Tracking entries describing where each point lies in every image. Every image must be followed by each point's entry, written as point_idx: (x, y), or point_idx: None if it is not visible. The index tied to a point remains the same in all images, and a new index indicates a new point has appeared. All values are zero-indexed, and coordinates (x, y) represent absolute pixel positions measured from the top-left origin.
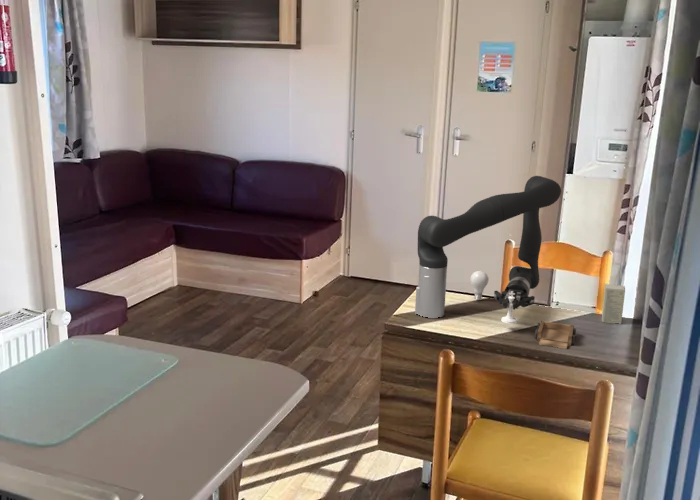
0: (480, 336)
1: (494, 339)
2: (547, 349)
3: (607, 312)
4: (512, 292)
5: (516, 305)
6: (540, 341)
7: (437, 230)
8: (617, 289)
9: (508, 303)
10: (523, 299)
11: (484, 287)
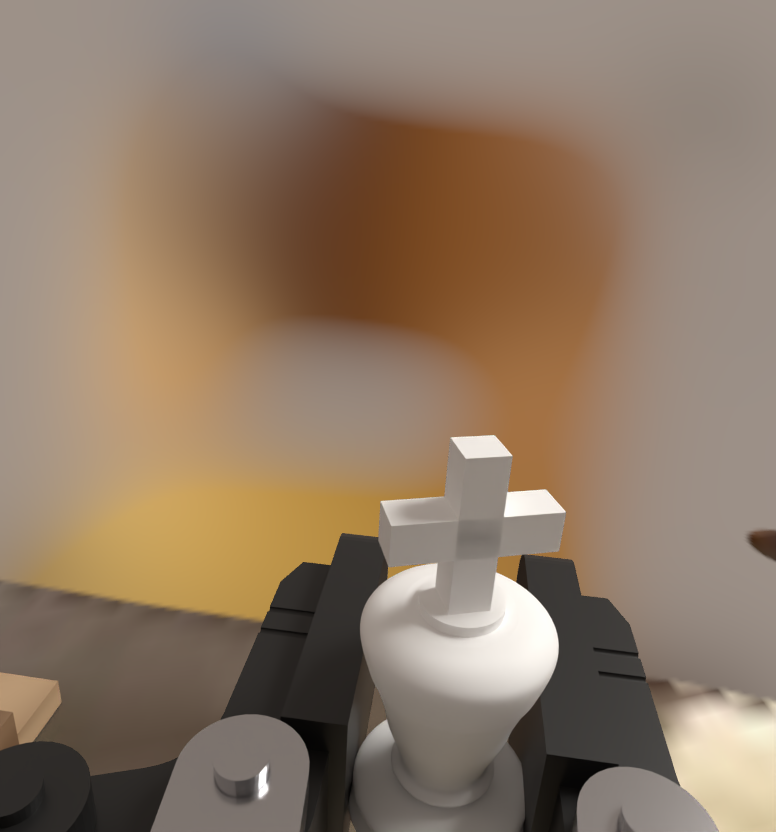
0: (687, 772)
1: None
2: (28, 626)
3: None
4: (464, 467)
5: (316, 583)
6: (34, 697)
7: None
8: None
9: (508, 778)
10: (38, 782)
11: None
